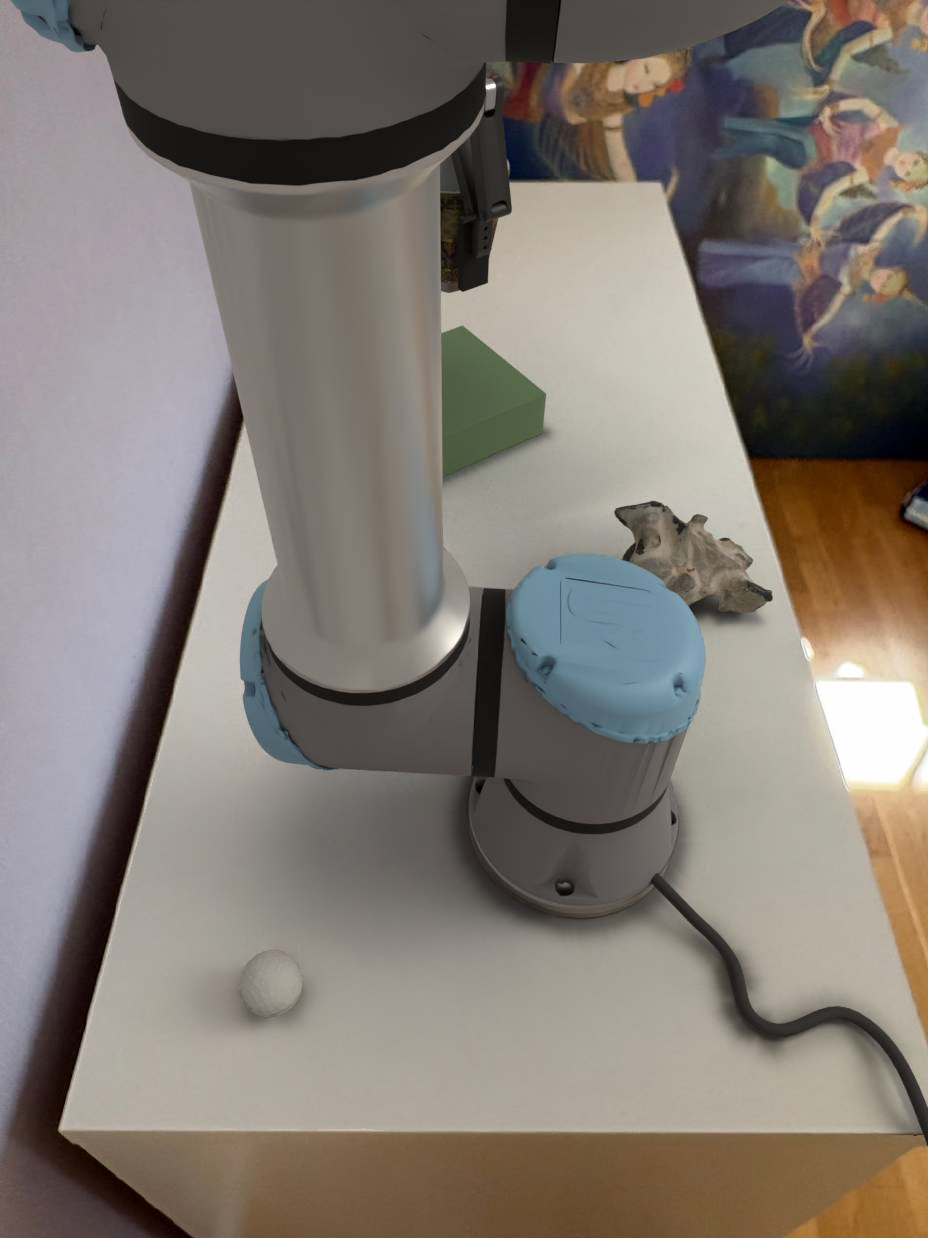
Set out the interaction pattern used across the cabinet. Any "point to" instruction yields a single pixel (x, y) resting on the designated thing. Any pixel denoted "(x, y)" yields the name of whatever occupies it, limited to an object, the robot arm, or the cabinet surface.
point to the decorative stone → (690, 558)
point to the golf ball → (270, 983)
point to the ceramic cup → (451, 224)
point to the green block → (483, 402)
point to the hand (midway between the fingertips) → (439, 259)
